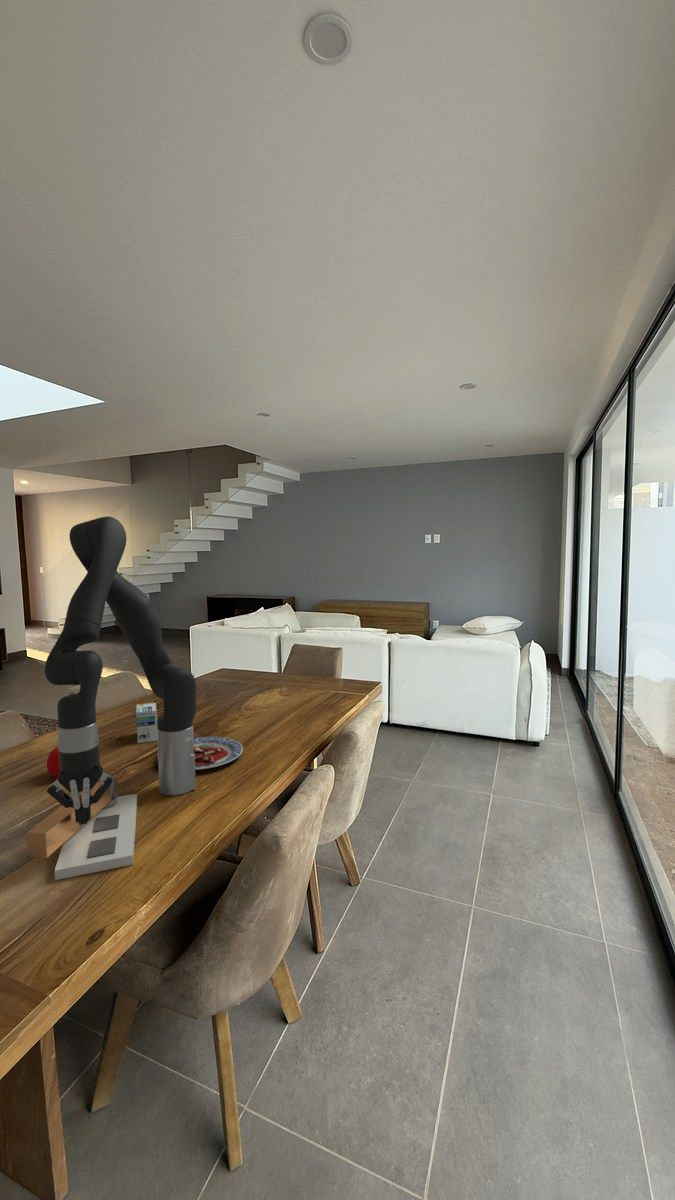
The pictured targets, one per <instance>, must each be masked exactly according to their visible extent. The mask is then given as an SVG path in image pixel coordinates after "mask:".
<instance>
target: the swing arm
mask: <svg viewBox="0 0 675 1200" xmlns="http://www.w3.org/2000/svg"><path fill="white" fill-rule="evenodd" d="M100 782H101V778H100V779H99V780H98V782H97V783H96V784H95V786H94V787H93V788H92V789H91V796H92V795H94V793H95V792H96V791H97V789H98V788H99V787H100V785H101V783H100ZM118 790H119V788H118V775H115V774H113V782H112V783H111V785H110V786H109V787H108V789H107V790H106V791H105V793H104V794H103V796H102V797H101V798H100V800H99V801H98V802H97V803H93V804H91V817H90V819H91V818H92V817H93V816H94V815H96V814H97V813H98V812H99V811H100V810H101V809H102V808H103V807H105V806H106V805H107V804H108V803H109V802H110V801H111V800H113V799H114V798H115V797H118V795H119V793H118ZM81 798H82V804H83V792H81ZM83 825H84V824H83ZM83 825H79V823H76V821H75V809H74V808H72V807H69V808H65V807H64V806H63V805H62V804H61V805H60V806H59V807H57V808H56V809H55V810H54V811H52V812H51V813H50V814H48V815H47V816H46V817H45V818H43V819H42V820H41V821H39V822H38V823H37V824H36V825H34V826H33V827H32V828H31V829H29V830H28V831H27V832H26V842H27V843H26V844H27V845H26V846H27V857H30V858H44V859H45V858H49V857H50V856H51V855H52V854H53V853H55V852H56V851H57V849H59V848H60V847H61V846H63V843H64V842H65V841H66V840H67V839H69V838H70V837H71V836H72V835H73V834H74V833H75V832H76V831H78V830H79V829H80V828H81V827H82V826H83Z"/></svg>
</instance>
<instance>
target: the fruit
mask: <svg viewBox="0 0 675 1200" xmlns="http://www.w3.org/2000/svg"><path fill="white" fill-rule="evenodd" d="M46 769H47V772H48V774H49V775H50V776H52V777H53V778H55V779H58V775H59V773H60V764H59V748H58V746H56V747H54V748H53V749H52V750H51V751H50V753H48V756H47V760H46Z"/></svg>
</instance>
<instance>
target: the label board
mask: <svg viewBox="0 0 675 1200" xmlns="http://www.w3.org/2000/svg"><path fill="white" fill-rule="evenodd" d="M137 810H138V794H137V793H135V794H134V793H133V794H127V795H121V796H116V797H115V798H114V799H113V800H111V801H110V802H109V803H108V804H107V805H106V806H105V807H103V808H102V809H101V810H100V811H99V812H98V813H97V814H96V815H94V816H93V817H92V818H91V819H90V820H89V821H88V822H87V824H84V825H83V826H82V827H81V828H80V829H79V830H78V831H76V832H75V833H74V834H73V835H72V836H71V837H70V838H69V839H67V840H66V841H65V842H64V843H63V844H62V845H61V846H62V847H61V850H60V853H59V856H58V859H57V862H56V865H55V868H54V881H59V880H63V879H68V878H73V877H74V878H75V877H78V876H83V875H87V874H93V873H97V872H98V873H99V872H103V871H109V870H113V869H118V868H122V867H127V866H132V865H134V856H135V855H134V854H135V843H136V842H135V840H136V839H135V838H136V826H137V814H138V813H137V812H138V811H137ZM134 842H135V843H134Z"/></svg>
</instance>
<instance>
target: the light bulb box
mask: <svg viewBox="0 0 675 1200" xmlns="http://www.w3.org/2000/svg"><path fill="white" fill-rule="evenodd" d="M135 706H136V708H135V709H136V710H135V714H136V715H135V716H136V729H137V730H136V732H137V734H136V735H137V736H136V737H137V744H141V743H143V744H144V743H150V742H158V734H157V719H158V711H157V703H156V702H151V703H141V704H140V703H139V704H138V703H137V704H136V705H135Z"/></svg>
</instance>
